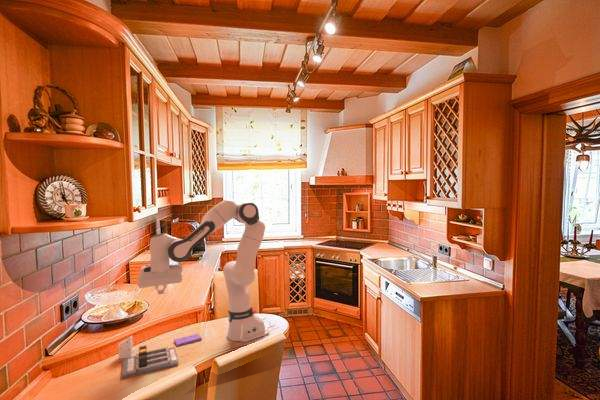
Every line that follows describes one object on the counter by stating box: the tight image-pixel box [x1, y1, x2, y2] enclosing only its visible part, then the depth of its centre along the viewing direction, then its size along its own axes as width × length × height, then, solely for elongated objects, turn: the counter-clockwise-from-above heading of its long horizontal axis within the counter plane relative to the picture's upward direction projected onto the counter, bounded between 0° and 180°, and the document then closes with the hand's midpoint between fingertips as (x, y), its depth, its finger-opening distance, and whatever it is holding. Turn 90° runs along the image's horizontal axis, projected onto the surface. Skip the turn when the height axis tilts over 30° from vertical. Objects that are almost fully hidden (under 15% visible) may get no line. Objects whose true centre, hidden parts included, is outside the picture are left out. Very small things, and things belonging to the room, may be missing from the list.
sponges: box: [173, 333, 203, 347], centre depth 168 cm, size 7×13×2 cm, turn 123°
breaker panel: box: [121, 345, 179, 379], centre depth 146 cm, size 22×16×6 cm
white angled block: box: [117, 335, 136, 359], centre depth 153 cm, size 4×10×9 cm
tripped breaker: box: [138, 348, 147, 356], centre depth 144 cm, size 3×3×5 cm
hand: (161, 293), depth 161 cm, fingers closed
